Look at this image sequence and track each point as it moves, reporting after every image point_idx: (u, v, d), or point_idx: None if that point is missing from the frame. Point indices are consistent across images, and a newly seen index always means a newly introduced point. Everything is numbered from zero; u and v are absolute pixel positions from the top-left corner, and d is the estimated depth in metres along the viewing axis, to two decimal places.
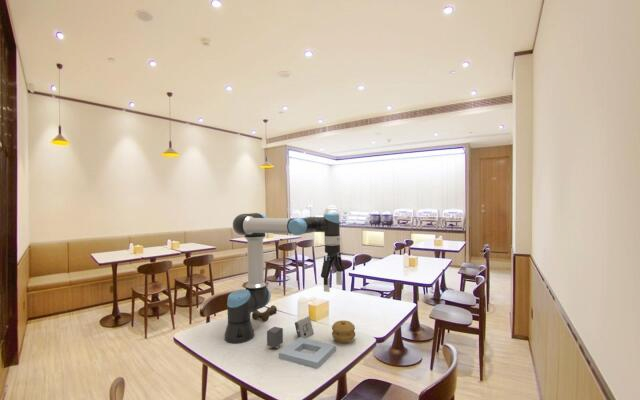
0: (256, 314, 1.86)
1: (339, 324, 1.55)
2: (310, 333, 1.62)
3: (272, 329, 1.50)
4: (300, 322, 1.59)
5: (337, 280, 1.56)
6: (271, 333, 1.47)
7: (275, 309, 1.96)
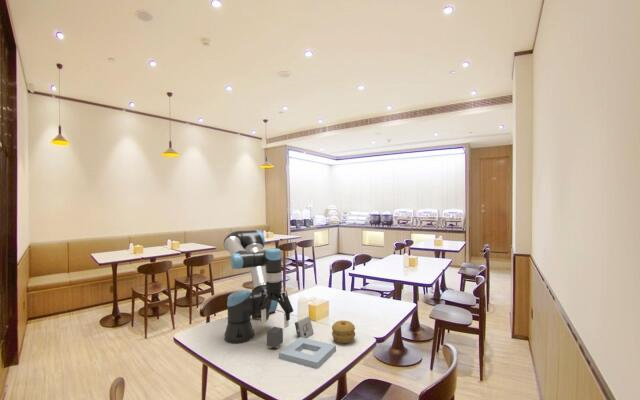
0: None
1: (339, 324, 1.55)
2: (310, 333, 1.62)
3: (272, 329, 1.50)
4: (300, 322, 1.59)
5: None
6: (271, 333, 1.47)
7: None
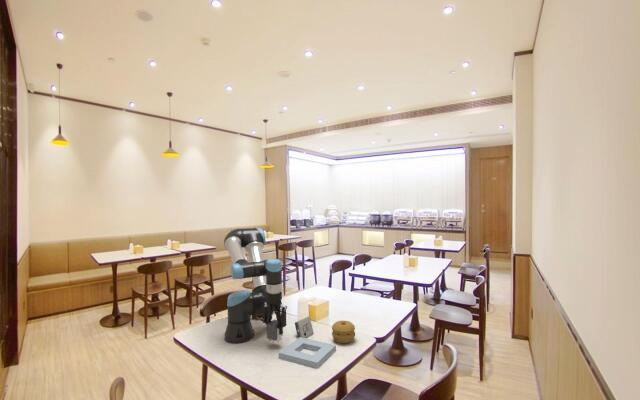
0: None
1: (339, 324, 1.55)
2: (310, 333, 1.62)
3: (272, 322, 1.50)
4: (300, 322, 1.59)
5: None
6: (271, 326, 1.47)
7: None
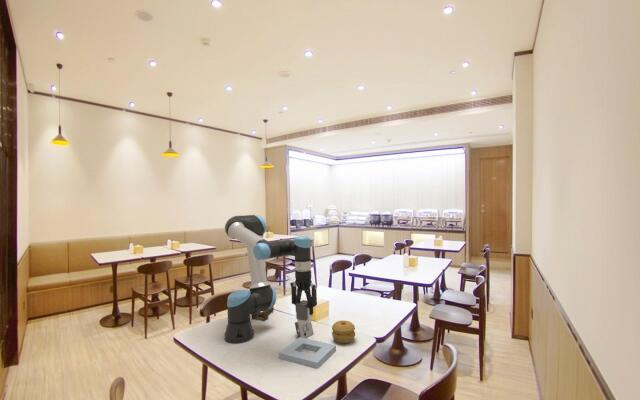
0: (255, 314, 1.86)
1: (339, 324, 1.55)
2: (310, 333, 1.62)
3: (301, 302, 1.43)
4: (300, 322, 1.59)
5: None
6: (301, 306, 1.40)
7: (272, 308, 1.98)
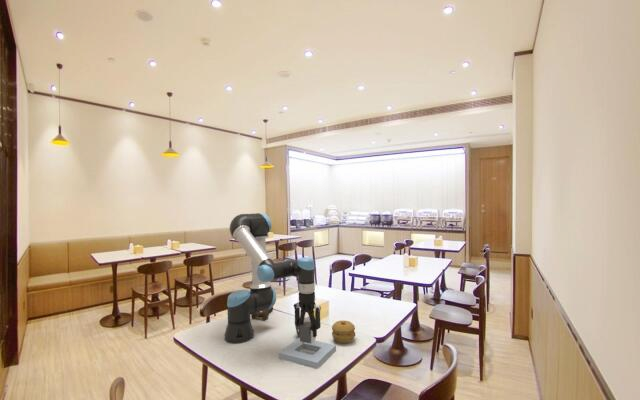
0: (255, 314, 1.87)
1: (339, 324, 1.55)
2: None
3: (305, 324, 1.42)
4: None
5: None
6: (304, 328, 1.39)
7: (271, 308, 1.98)
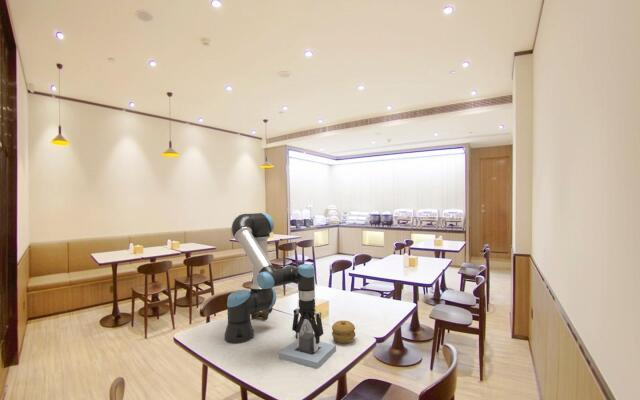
0: (255, 314, 1.87)
1: (339, 324, 1.55)
2: None
3: (305, 335, 1.42)
4: None
5: None
6: (305, 340, 1.39)
7: (271, 308, 1.99)
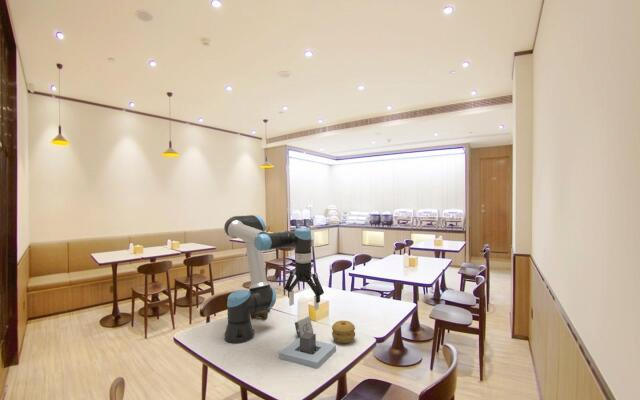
0: (255, 313, 1.87)
1: (339, 324, 1.55)
2: None
3: (305, 335, 1.42)
4: (300, 322, 1.59)
5: None
6: (305, 340, 1.39)
7: None
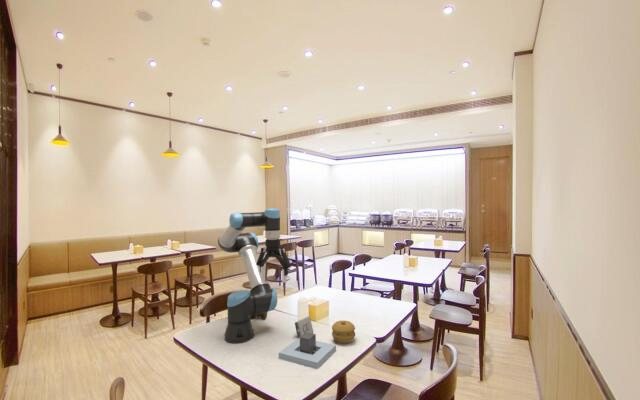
0: None
1: (339, 324, 1.55)
2: None
3: (305, 335, 1.42)
4: (300, 322, 1.59)
5: None
6: (305, 340, 1.39)
7: None
